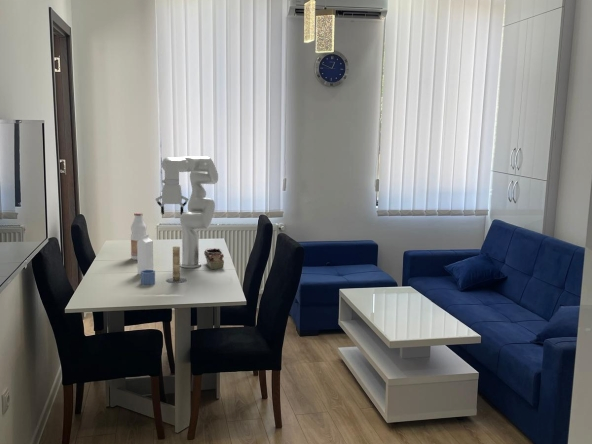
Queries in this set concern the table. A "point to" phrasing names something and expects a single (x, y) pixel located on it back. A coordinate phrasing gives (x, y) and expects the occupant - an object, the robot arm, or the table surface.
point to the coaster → (176, 281)
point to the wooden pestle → (176, 263)
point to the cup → (147, 277)
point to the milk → (145, 254)
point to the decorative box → (214, 258)
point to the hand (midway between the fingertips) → (172, 214)
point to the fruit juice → (137, 233)
